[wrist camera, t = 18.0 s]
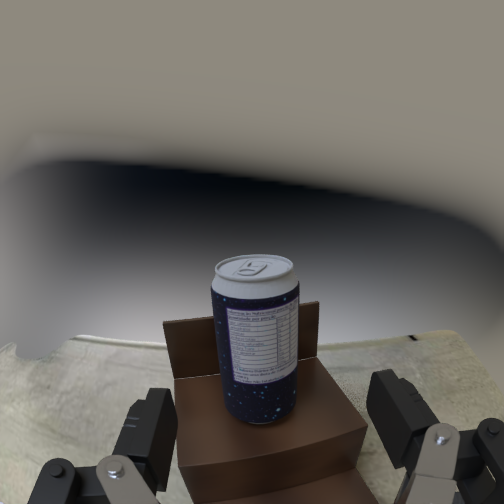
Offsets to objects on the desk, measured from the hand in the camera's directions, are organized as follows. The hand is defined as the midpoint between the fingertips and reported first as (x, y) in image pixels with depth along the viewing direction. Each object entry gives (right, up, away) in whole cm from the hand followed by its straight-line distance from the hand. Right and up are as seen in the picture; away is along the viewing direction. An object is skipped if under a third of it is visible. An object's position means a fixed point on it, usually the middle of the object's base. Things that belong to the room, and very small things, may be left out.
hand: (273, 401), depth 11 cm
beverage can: (0, -7, +12) cm, 14 cm away
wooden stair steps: (+1, -17, +11) cm, 20 cm away
